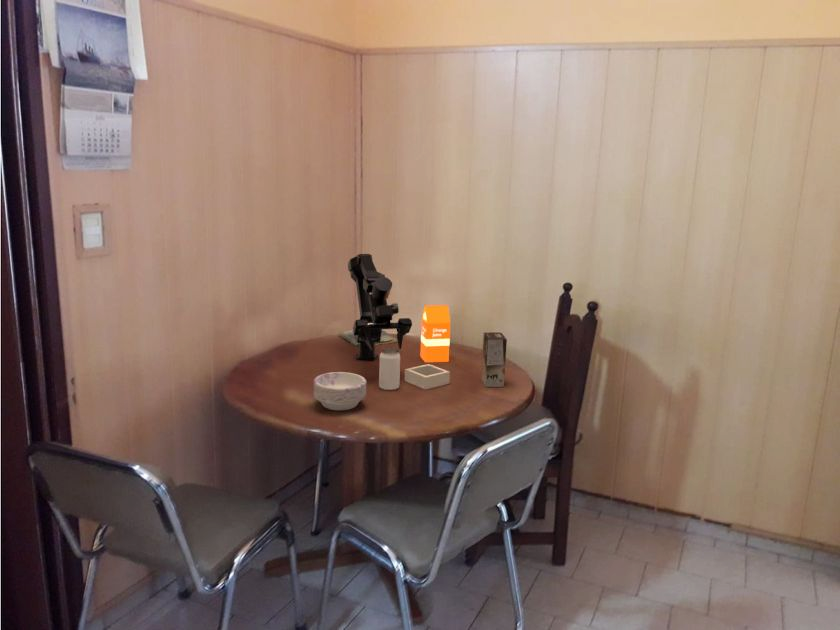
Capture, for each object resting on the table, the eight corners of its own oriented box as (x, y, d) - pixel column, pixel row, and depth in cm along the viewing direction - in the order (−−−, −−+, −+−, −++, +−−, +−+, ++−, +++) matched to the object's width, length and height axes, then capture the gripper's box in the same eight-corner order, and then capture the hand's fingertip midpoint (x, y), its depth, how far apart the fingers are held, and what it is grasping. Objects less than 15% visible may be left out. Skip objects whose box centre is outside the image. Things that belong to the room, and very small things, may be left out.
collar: (404, 380, 225) (404, 369, 224) (428, 375, 231) (428, 363, 230) (425, 389, 217) (425, 377, 216) (449, 383, 224) (449, 371, 223)
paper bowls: (358, 417, 192) (359, 390, 191) (306, 412, 195) (306, 385, 193) (371, 398, 207) (371, 373, 205) (322, 394, 209) (322, 369, 208)
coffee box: (504, 387, 222) (507, 339, 218) (484, 387, 221) (487, 339, 218) (498, 378, 231) (501, 332, 227) (480, 378, 230) (482, 331, 227)
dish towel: (355, 348, 262) (356, 340, 261) (338, 337, 277) (338, 329, 276) (399, 344, 270) (399, 336, 270) (379, 333, 286) (380, 325, 285)
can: (396, 391, 214) (397, 354, 211) (376, 389, 215) (377, 352, 213) (401, 385, 220) (402, 349, 218) (381, 383, 222) (382, 347, 219)
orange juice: (448, 361, 248) (451, 307, 243) (425, 362, 245) (427, 308, 241) (442, 355, 255) (445, 302, 250) (419, 356, 253) (421, 303, 248)
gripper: (355, 295, 218) (361, 337, 210) (411, 294, 224) (420, 335, 216) (350, 314, 227) (356, 355, 219) (404, 312, 233) (412, 352, 225)
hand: (386, 349), depth 220 cm, fingers open, 9 cm apart
